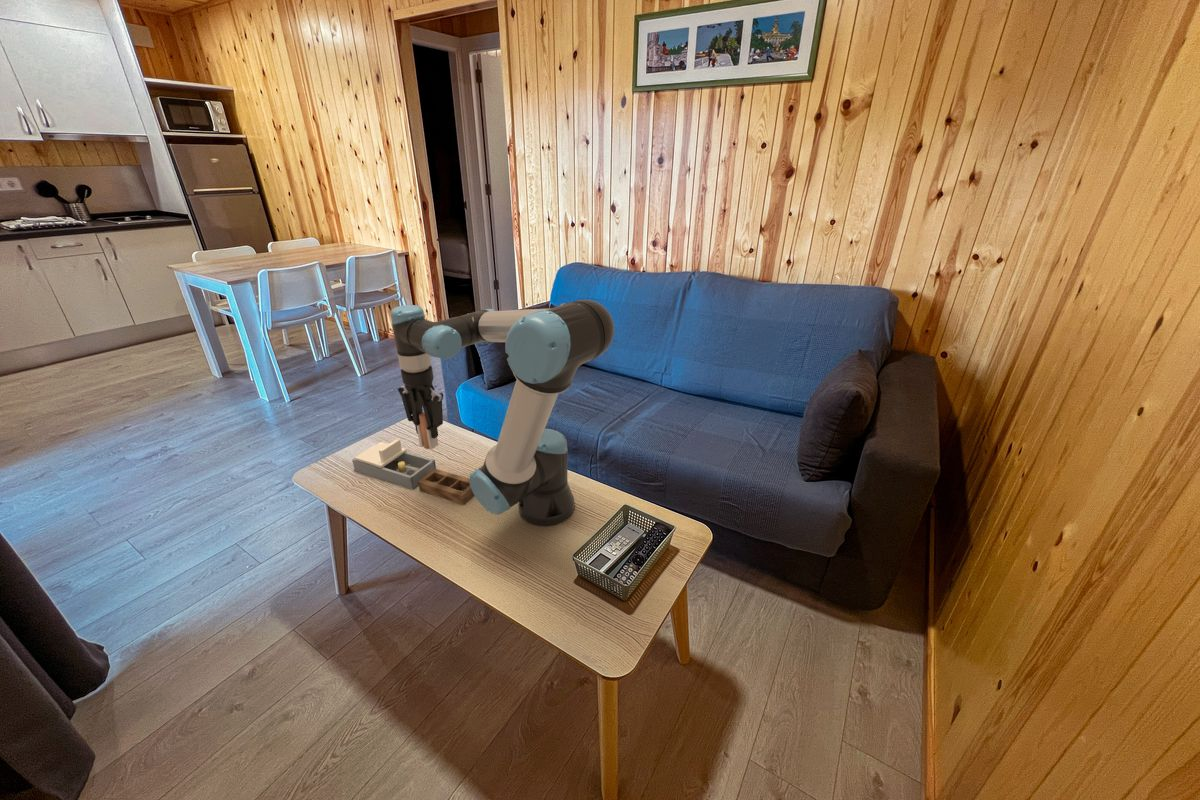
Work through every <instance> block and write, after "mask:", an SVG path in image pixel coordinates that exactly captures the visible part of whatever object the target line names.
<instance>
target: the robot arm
mask: <svg viewBox="0 0 1200 800" xmlns="http://www.w3.org/2000/svg"><path fill="white" fill-rule="evenodd" d="M390 319H391V327H392V332H393V337H394V341H395V347H396V351H397V358H398V365H399V368H400V369H401V370H400V373H401V378H402V379H401V381H402V383H403V384H404V385H402V386H399V387H398V388H397V391H398V393H399V395H400V397H401V400H402V403H403V407H404V408H403V409H404V410H405V414H406V418H407V421H408V422H412V423H413V424H414V427H415V431H416V434H417V435H418V441H419V447H421V448H423V447H424V443H423V437H422V431H421V425H420V419H419V414H420V413H425V417H426V420H427V424H428V427H427V428H426V431H427V437H428V443H429V449H428V450H433V449H434V448H436V447H437V446H439V441H438V440H439V439H438V437H439V432H438V431H439V430H438V428H439V427H441V426H442V425H444V423H443V422H444V417H443V416H444V415H443V399H444V393H443V392H437V391H436V389H435V387H434V385H433V380H434V371H433V367H432V359H431V357H434V358H437V359H441V360H450V359H453V358H454V357H455V356H456V355H457V354H458V353H460V351H461V349H463V348H467V347H468V346H471V345H475V344H478V343H505V344H504V345H505V346H504V347H505V348H504V349H505V350H504V351H505V354H507V356H508V357H507V358H506V360H507V364H508V366H509V368H510V370H511V371H512V373H513V376H514V377H515V379H516V381H515V384H514V388H513V390H512V393H511V397H510V401H509V403H508V407H507V411H506V413H505V417H504V419H503V423H502V427H501V429H500V433H499V435H498V439H497V443H496V444H495V445H493V446H492V447H491V448H490V449H488V451H487V453H486V455H485V459H484V461H483V464H482V466H481V467H478V468H475V469H474V471H472V472H471V473H470V475H469V477H468V479H469V483H470V487H471V489H472V492H473V493H474V495H473V496H474V497H475V498H476V500H477V502H478V503H479V504H480V505H481V506H482V507H483V509H485V510H486V511H488V512H489V513H490V514H494V515H501V514H503V513H504V512H507V511H509V510H510V509H511V508H512V507H514V506H515V505H516V504H518V512H519V515H520V517H521V519H523V520H524V521H526V522H528V523H529V524H531V525H534V526H541V527H542V526H544V527H545V526H547V527H548V526H549V527H550V526H554V525H557V524H560V523H562V522H565V521H566V520H568V519H569V518H570V517H571V516H572V514H573V513H574V510H575V497H574V495H573V493H572V490H571V487H570V486H569V483H568V451H569V449H568V443H567V439H566V436H565V435H564V434H563V433H562V432H560V431H557V430H555V429H551V428H546V427H547V424H548V421H549V419H550V417H551V413H552V411H553V409H554V405H555V404H556V401H557V398H558V396H559V394H562V393H564V392H566V391H567V390H568V389H569V388H570V386H571V385H572V382H573V380H574V377H575V375H576V372H577V370H578V368H579V367H580V366H581V365H583V364H586V363H588V362H590V361H592V360H595V359H596V358H597V359H598V357H600V356H601V355H603V354H604V353H605V352H606V351H607V350H608V349H609V347H610V346H611V344H612V342H613V339H614V333H615V325H614V320H613V317H612V315H611V313H610V312H609V311H608V309H607V308H606V307H605V306H603V305H602V304H601V303H599V302H598V301H595V300H593V299H592V300H591V299H579V300H574V301H571V302H565V303H564V302H563V303H562V304H560V305H558V306H555V307H551V308H550V307H549V308H532V309H531V308H529V309H511V310H510V309H509V310H495V309H493V308H486V309H479V310H476V311H473V312H469V313H467V314H464V315H460V316H454V317H450V318H449V317H448V318H447V319H442V320H439V321H438V320H437V321H431V320H429V319H426V315H425V312H424V309H423V308H422V307H421V306H419V305H416V304H415V305H414V304H406V305H399V306H396V307H393V308H392V310H391V311H390Z"/></svg>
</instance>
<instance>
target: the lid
mask: <svg viewBox="0 0 1200 800" xmlns="http://www.w3.org/2000/svg"><path fill="white" fill-rule="evenodd" d="M405 452H408V451H407V448H405V447H402V445H401V439H398V438H396V439H394V440H393V441H391V442H390V443H387V442H384V441H379V442H378V443H376V444H374V445H373V446H372V445H371V447H369V448H367V449H366V450H364V451H363V452H361V453H359V454H358V455H356V456H355V457H353V459H354V458H355V460H357V461H360V462H364V463H367V464H370V465H373V466H376V467H380V468H382V467H384V468H385V466H386V465H388V464H389V463H391V462H393V461H395V460H394V459H396V458H397V457H399V456H400V455H402V454H403V453H405Z"/></svg>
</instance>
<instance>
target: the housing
mask: <svg viewBox="0 0 1200 800" xmlns="http://www.w3.org/2000/svg"><path fill="white" fill-rule="evenodd" d="M351 460H352V461H351V462H352V465H353V469H354V471H355V472H358V473H361V474H364V475H367V476H370V477H374V478H377V479H379V480H383V481H385V482H388V483H392V484H396V485H398V486H401V487H404V488H406V489H407V488H408V489H410V490H414V489H415V488H417V487H419V486H418V481H419V480H421V479H422V478H423V477H425V476H426V475H427V474H429V473H430V472H431V471H433V470H434V469H437V466H436V459H432V458H429V457H425V456H422V455H419V454H416V453H411V452H409V451H406V452H405V453H403V454H402V455H400V456H399V457H397V458H396V459H394V460H393V461H396V462H398V463H397V468H398V469H397V470H393V469H390V468H386V467H385V466H384V467H382V468H380V467H376V466H373V465H370V464H367V463H364V462H360V461H357V460H355V458H354V457H353V458H352V459H351ZM406 465H409V466H413V467H415V468H418V469H413V468H410V467H407V466H406Z"/></svg>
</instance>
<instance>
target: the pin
mask: <svg viewBox="0 0 1200 800" xmlns="http://www.w3.org/2000/svg"><path fill="white" fill-rule="evenodd" d="M419 419H420V425H421V431H422V437H423V443H424V446H423V447H424V449H425V450H430V449H429V443H428V437H427V431H426V428H427V427H428V424H427V420H426V417H425V413H424V412H423V413H420V414H419Z"/></svg>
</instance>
